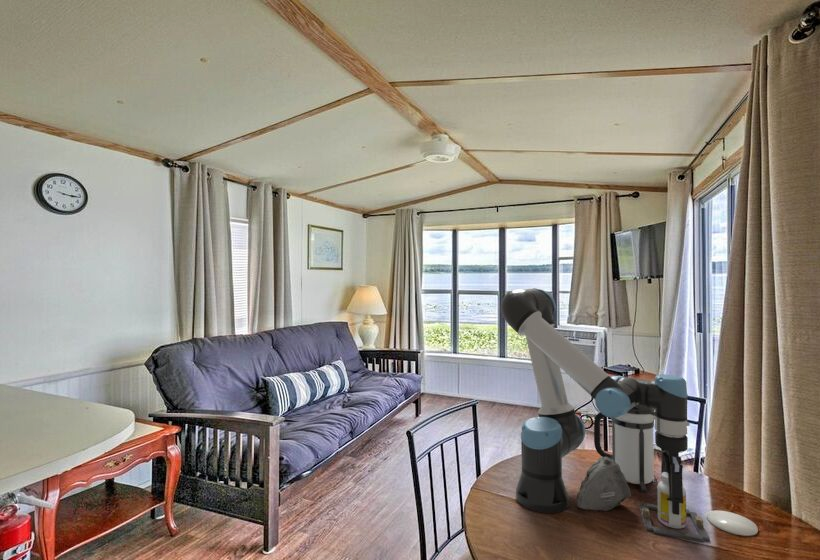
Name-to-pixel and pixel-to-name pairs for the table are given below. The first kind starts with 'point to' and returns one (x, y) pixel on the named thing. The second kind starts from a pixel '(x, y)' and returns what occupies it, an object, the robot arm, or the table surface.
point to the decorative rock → (603, 486)
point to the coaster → (732, 523)
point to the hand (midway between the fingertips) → (671, 517)
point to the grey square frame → (696, 520)
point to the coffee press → (631, 444)
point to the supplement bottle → (664, 505)
